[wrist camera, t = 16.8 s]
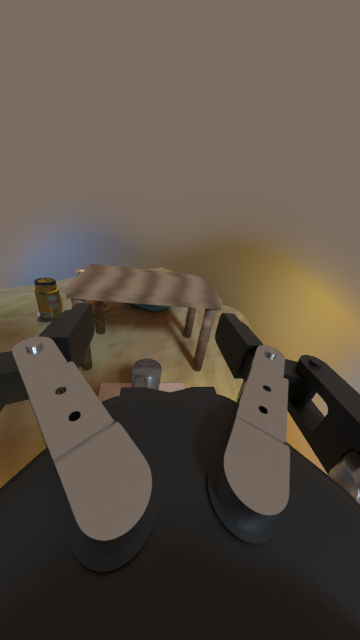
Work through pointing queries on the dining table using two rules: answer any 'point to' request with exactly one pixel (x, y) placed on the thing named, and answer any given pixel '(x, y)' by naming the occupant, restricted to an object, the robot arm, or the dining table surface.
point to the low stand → (146, 297)
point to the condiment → (47, 300)
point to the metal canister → (146, 374)
